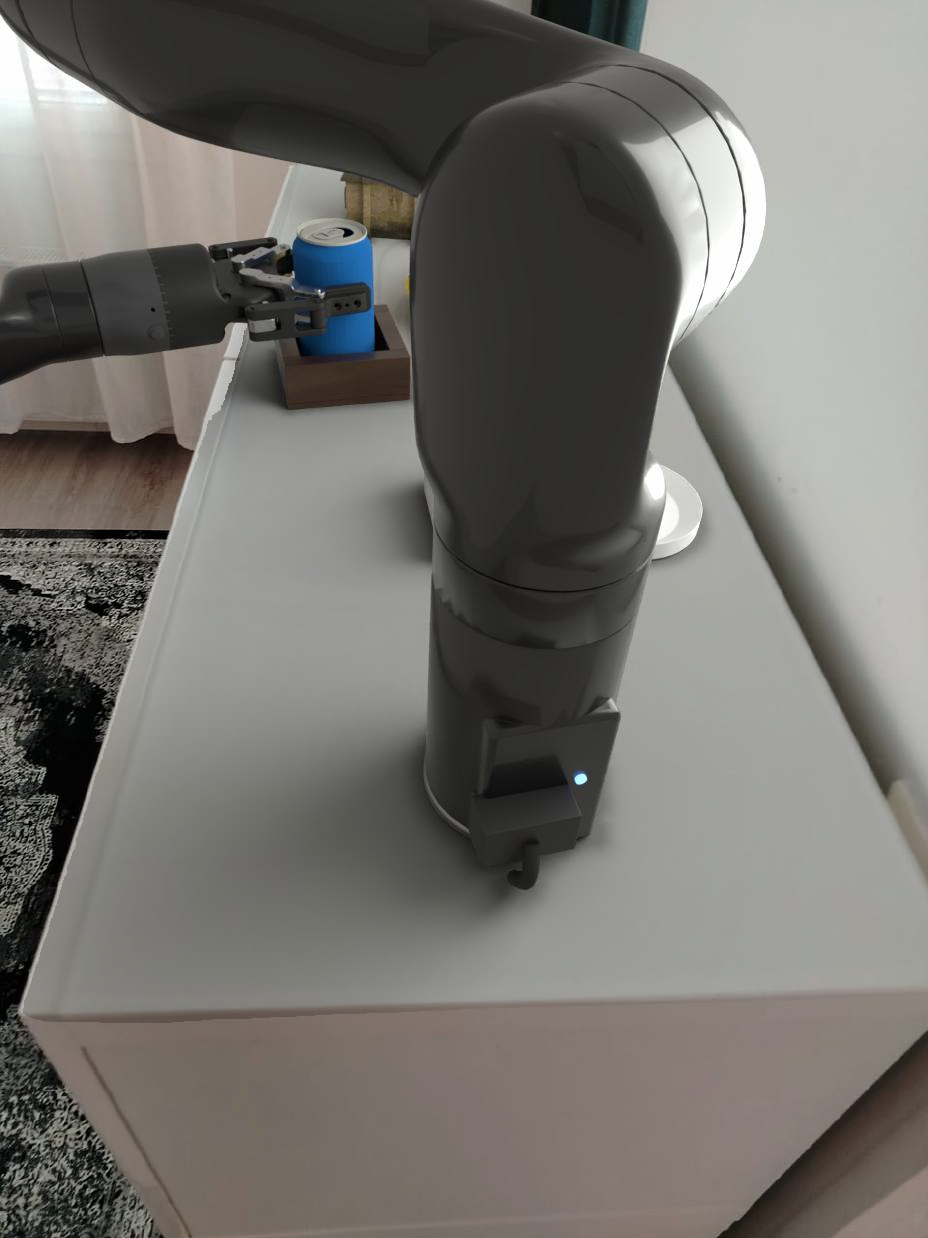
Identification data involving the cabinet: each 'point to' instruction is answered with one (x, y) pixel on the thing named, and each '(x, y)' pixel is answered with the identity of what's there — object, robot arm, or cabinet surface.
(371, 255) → the beverage can
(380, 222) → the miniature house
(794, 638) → the cabinet surface
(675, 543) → the white flat rounded piece
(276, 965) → the cabinet surface
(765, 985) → the cabinet surface
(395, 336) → the brown wooden open box
